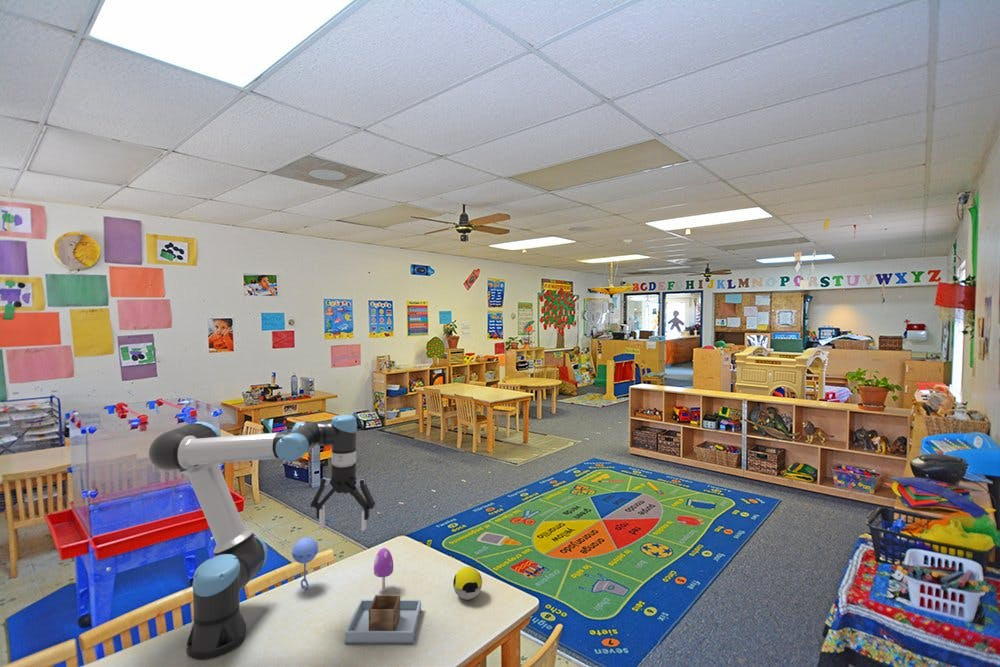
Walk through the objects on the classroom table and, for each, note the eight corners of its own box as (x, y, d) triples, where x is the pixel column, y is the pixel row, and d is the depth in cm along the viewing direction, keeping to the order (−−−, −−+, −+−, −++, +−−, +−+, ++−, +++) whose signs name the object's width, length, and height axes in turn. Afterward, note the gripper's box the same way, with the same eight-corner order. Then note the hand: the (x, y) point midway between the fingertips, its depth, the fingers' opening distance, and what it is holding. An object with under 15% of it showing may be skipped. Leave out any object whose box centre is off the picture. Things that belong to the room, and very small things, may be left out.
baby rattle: (323, 586, 166) (323, 537, 165) (302, 598, 158) (301, 547, 158) (308, 579, 170) (308, 531, 170) (286, 590, 163) (286, 540, 162)
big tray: (344, 644, 137) (344, 632, 136) (360, 609, 153) (360, 599, 152) (412, 644, 137) (412, 632, 137) (421, 610, 153) (421, 599, 153)
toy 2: (478, 586, 166) (478, 559, 166) (485, 604, 156) (485, 575, 156) (450, 591, 164) (451, 563, 163) (456, 608, 154) (456, 579, 153)
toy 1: (388, 597, 160) (388, 554, 159) (370, 594, 161) (370, 552, 161) (396, 586, 166) (396, 545, 166) (379, 583, 168) (379, 543, 167)
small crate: (368, 633, 141) (368, 610, 140) (375, 616, 149) (375, 594, 148) (395, 633, 141) (395, 610, 140) (400, 616, 149) (400, 594, 148)
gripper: (300, 466, 146) (299, 532, 146) (379, 468, 146) (378, 534, 146) (310, 459, 153) (309, 522, 154) (385, 461, 153) (384, 524, 154)
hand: (342, 528), depth 150 cm, fingers open, 13 cm apart
